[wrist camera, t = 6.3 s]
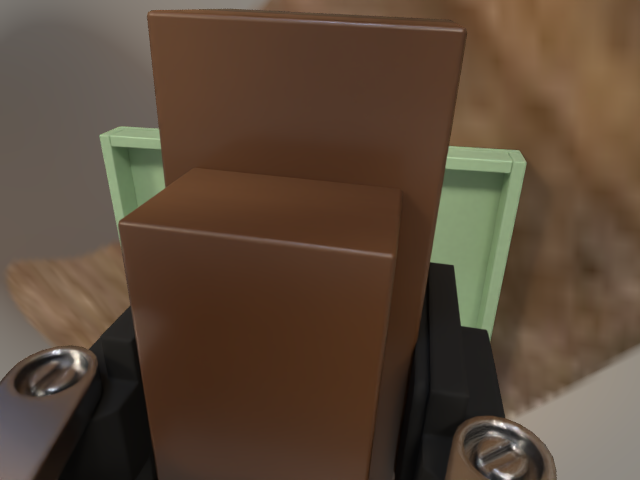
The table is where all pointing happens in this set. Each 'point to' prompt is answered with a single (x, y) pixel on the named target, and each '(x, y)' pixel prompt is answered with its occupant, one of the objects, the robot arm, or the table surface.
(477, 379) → the robot arm
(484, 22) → the table surface
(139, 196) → the tray
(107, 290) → the table surface
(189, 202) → the stepped brown post
